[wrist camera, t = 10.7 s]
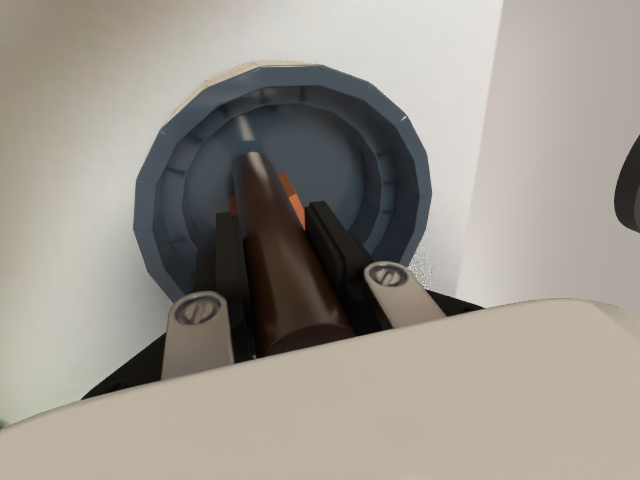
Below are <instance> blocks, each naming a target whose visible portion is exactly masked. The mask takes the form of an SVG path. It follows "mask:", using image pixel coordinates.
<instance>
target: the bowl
mask: <svg viewBox="0 0 640 480" xmlns="http://www.w3.org/2000/svg"><path fill="white" fill-rule="evenodd" d="M249 152H257V153H260V154H263V155H264V156H266V157H267V158H268V159H269V160H270V161H271V163H272V165H273V167H274V169H275V171H276V173H277V174H279V173H282V172H285V174H286V176H287V178H288V179H289V181H290V183H291V185H292V187H293V188H294V190H295V192H296V194H297V196H298V198H299V200H300V203H301V205H302V207H303V209H305V207H307V206H309V203H310V202H317V201H325V202H326V203H327V204H328V206H329V207H330V209H331V210H332V211H333V213H334V214H335V216H336V217H337V218H338V220H339V221H340V222H341V224H342V225H343V227H344V228H345V229H346V231H348V230H351V231H352V232H353V233H354V234H355V235H356V237H357V238H358V239H359V241H360V242H361V243H362V245H363V246H364V247H365V249H366V250H367V251H368V253H369V254H370V255H371V256H372V258H373V259H374V260H375V262H378V261H389V262H395V263H398V264H401V265H403V266H404V267H406V268H407V267H408V266H409V263H410V261H411V259H412V257H413V255H414V253H415V251H416V249H417V247H418V245H419V243H420V241H421V239H422V237H423V235H424V232H425V230H426V225H427V220H428V214H429V209H430V203H431V197H432V188H431V180H430V173H429V165H428V158H427V153H426V151H425V149H424V147H423V145H422V143H421V141H420V139H419V137H418V135H417V133H416V131H415V129H414V127H413V125H412V124H411V122H410V120H409V118H408V116H407V115H406V114H405V112H403V111H402V110H401V109H400V108H399V107H398V106H397V105H395V104H394V103H393V102H392V101H391V100H390V99H389V98H388V97H386V96H385V95H384V94H383V93H382V92H381V91H380V90H378V89H377V88H376V87H375V86H374V85H373V84H371V83H370V82H368V81H365V80H362V79H360V78H357V77H354V76H351V75H349V74H346V73H343V72H340V71H338V70H335V69H332V68H329V67H326V66H324V65H319V64H313V63H305V62H297V61H276V62H251V63H247V64H244V65H242V66H239V67H237V68H234V69H231V70H229V71H226V72H224V73H221V74H219V75H216V76H214V77H211V78H209V79H208V80H206V81H205V82H204V83H203V84H202V85H201V86H200V87H198V88H197V89H196V90H195V91H194V92H193V93H192V94H191V95H190V96H189V97H188V98H187V99H186V100H184V101H183V102H182V103H181V104H180V105H179V106H178V107H177V108H176V109H175V110H174V111H173V113H172V114H171V116H170V117H169V118H168V120H167V121H166V122H165V124H164V125H163V127H162V128H161V129H160V131H159V133H158V135H157V137H156V139H155V141H154V143H153V145H152V147H151V150H150V152H149V154H148V156H147V158H146V160H145V162H144V164H143V166H142V168H141V170H140V172H139V174H138V177H137V180H136V189H135V207H134V224H133V230H134V234H135V236H136V239H137V242H138V245H139V248H140V251H141V254H142V257H143V260H144V263H145V265H146V268H147V271H148V273H149V274H150V276H151V277H152V278H153V279H154V281H155V282H156V283H157V284H158V285H159V286H160V288H161V289H162V290H163V291H164V292H165V294H166V295H167V296H168V297H169V298H170V300H171V301H172V302H173V303H174V304H175V303H176V302H177V301H178V300H180V299H181V298H183V297H185V296H187V295H189V294H191V293H193V284H194V274H195V263H196V254H197V252H198V251H205V250H213V249H216V213H222V212H229V202H228V197H230V196H232V195H234V194H235V190H234V183H233V175H232V169H233V165H234V163H235V161H236V160H237V159H238V158H239V157H240V156H241V155H243V154H245V153H249Z"/></svg>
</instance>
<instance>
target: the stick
mask: <svg viewBox="0 0 640 480" xmlns="http://www.w3.org/2000/svg"><path fill="white" fill-rule="evenodd" d="M232 175H233V183H234V190H235V198H236V206H237V213H238V215H239V222H240V229H241V236H242V243H243V250H244V257H245V265H246V272H247V279H248V286H249V294H250V301H251V308H252V316H251V319H252V328H253V335H254V343H255V351H256V358H257V359H259V358H263V357H268V356H272V355H277V354H281V353H286V352H290V351H295V350H299V349H304V348H308V347H313V346H317V345H322V344H326V343H331V342H335V341H340V340H344V339H349V338H354V337H357V335H356V333H355V331H354V329H353V327H352V325H351V323H350V321H349V319H348V317H347V315H346V313H345V311H344V309H343V307H342V305H341V303H340V301H339V299H338V297H337V295H336V293H335V290H334V288H333V286H332V284H331V282H330V280H329V278H328V276H327V274H326V272H325V270H324V268H323V266H322V264H321V262H320V260H319V258H318V256H317V254H316V252H315V250H314V248H313V246H312V244H311V242H310V240H309V238H308V236H307V234H306V232H305V230H304V228H303V226H302V224H301V222H300V220H299V218H298V216H297V214H296V212H295V210H294V208H293V206H292V204H291V202H290V199H289V197H288V195H287V193H286V191H285V189H284V187H283V185H282V183H281V181H280V179H279V177H278V175H277V173H276V171H275V169H274V167H273V165H272V163H271V161H270V160H269V159H268V158H267V157H266V156H264V155H263V154H260V153H257V152H249V153H245V154H243V155H241V156H240V157H239V158H238V159H237V160H236V161H235V163H234V165H233V169H232Z"/></svg>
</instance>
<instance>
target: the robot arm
mask: <svg viewBox="0 0 640 480" xmlns="http://www.w3.org/2000/svg"><path fill="white" fill-rule="evenodd" d="M304 215H305V232H306V234H307V236H308V238H309V240H310V242H311V244H312V246H313V248H314V250H315V252H316V254H317V256H318V258H319V260H320V262H321V264H322V266H323V268H324V270H325V272H326V274H327V276H328V278H329V280H330V282H331V284H332V286H333V288H334V290H335V293H336V295H337V297H338V299H339V301H340V303H341V305H342V307H343V309H344V311H345V313H346V315H347V317H348V319H349V321H350V323H351V325H352V327H353V329H354V331H355V333H356V335H357V337H354V338H349V339H344V340H340V341H335V342H331V343H326V344H322V345H317V346H313V347H308V348H304V349H299V350H295V351H290V352H286V353H281V354H277V355H272V356H268V357H263V358H259V359H254V360H252V356H253V355H256V351H255V343H254V335H253V328H252V319H251V316H252V308H251V301H250V294H249V286H248V279H247V272H246V265H245V257H244V250H243V243H242V236H241V229H240V222H239V215H232V211H230V212H222V213H216V249H213V250H205V251H198V252H197V254H196V263H195V274H194V284H193V293H191V294H189V295H187V296H185V297H183V298H181V299H180V300H178V301H177V302H176V303H175V304H174V305H173V306H172V307H171V309H170V312H169V315H168V323H167V332H165V333H164V334H163V335H162V336H160V337H159V338H158V339H156V340H155V341H154V342H152V343H151V344H150V345H149V346H147V347H146V348H145V349H143V350H142V351H141V352H140V353H138V354H137V355H136V356H134V357H133V358H132V359H130V360H129V361H128V362H127V363H125V364H124V365H123V366H121V367H120V368H119V369H117V370H116V371H115V372H114V373H112V374H111V375H110V376H108V377H107V378H106V379H105V380H103V381H102V382H101V383H99V384H98V385H97V386H95V387H94V388H93V389H92V390H90V391H89V392H88V393H87V394H86V395H85V396H84V397H83V398H82V399H81V400H80V401H76V402H73V403H70V404H67V405H64V406H60V407H57V408H54V409H51V410H48V411H45V412H42V413H39V414H37V415H34V416H32V417H29V418H27V419H24V420H22V421H19V422H17V423H14V424H12V425H9V426H7V427H4V428H2V429H0V480H640V317H639V316H637V315H635V314H633V313H631V312H629V311H627V310H625V309H623V308H620V307H618V306H614V305H611V304H607V303H602V302H596V301H590V300H581V299H570V298H563V299H562V298H559V299H558V298H554V299H540V300H530V301H524V302H518V303H513V304H507V305H501V306H496V307H491V308H483V307H481V306H478V305H475V304H472V303H468V302H465V301H462V300H459V299H456V298H452V297H449V296H446V295H443V294H439V293H436V292H433V291H430V290H426V289H424V288H423V286H422V285H421V284H420V283H419V281H418V280H417V279H416V278H415V276H414V275H413V274H412V273H411V271H409V270H408V269H407V268H406V267H404V266H403V265H401V264H398V263H395V262H389V261H378V262H375V260H374V259H373V258H372V256H371V255H370V254H369V253H368V251H367V250H366V249H365V247H364V246H363V245H362V243H361V242H360V241H359V239H358V238H357V237H356V235H355V234H354V233H353V232H352V231H351V230H348V231H346V229H345V228H344V227H343V225H342V224H341V222H340V221H339V220H338V218H337V217H336V216H335V214H334V213H333V211H332V210H331V209H330V207H329V206H328V204H327V203H326V202H325V201H317V202H310V203H309V206H307V207H305V209H304Z"/></svg>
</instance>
